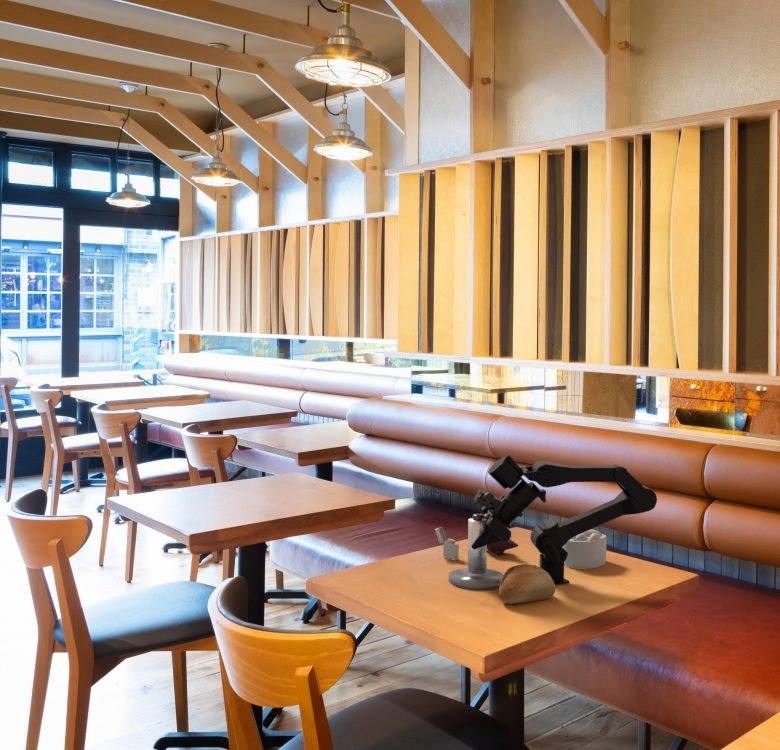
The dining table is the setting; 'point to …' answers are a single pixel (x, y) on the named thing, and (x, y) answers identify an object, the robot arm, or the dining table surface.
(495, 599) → the dining table surface
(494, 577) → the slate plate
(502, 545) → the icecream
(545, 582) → the bread roll
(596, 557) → the lumpy-topped squat cylinder
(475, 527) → the pepper mill
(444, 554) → the lighter
